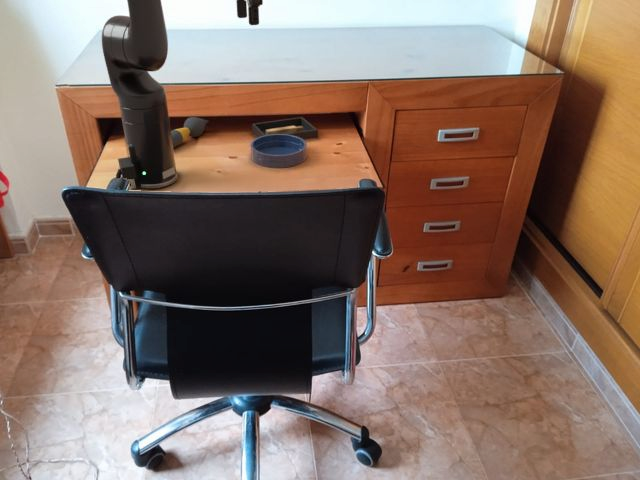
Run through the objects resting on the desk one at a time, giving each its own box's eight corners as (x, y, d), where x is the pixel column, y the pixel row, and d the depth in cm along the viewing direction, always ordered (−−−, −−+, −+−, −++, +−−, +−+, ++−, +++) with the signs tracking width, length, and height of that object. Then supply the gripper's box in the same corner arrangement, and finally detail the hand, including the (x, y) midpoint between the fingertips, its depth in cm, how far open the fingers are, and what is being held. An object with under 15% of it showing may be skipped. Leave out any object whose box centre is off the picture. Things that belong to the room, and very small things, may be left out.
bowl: (262, 173, 121) (261, 159, 119) (243, 152, 131) (242, 138, 129) (315, 164, 126) (315, 150, 124) (293, 144, 136) (293, 130, 134)
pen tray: (265, 147, 134) (265, 137, 132) (252, 132, 141) (251, 123, 140) (317, 138, 139) (317, 129, 137) (302, 125, 147) (302, 116, 145)
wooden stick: (267, 137, 137) (267, 131, 137) (265, 135, 139) (265, 129, 138) (303, 132, 141) (303, 126, 140) (301, 130, 142) (301, 124, 141)
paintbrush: (164, 159, 126) (161, 139, 123) (148, 155, 128) (144, 135, 125) (213, 132, 141) (211, 113, 139) (197, 128, 143) (196, 110, 140)
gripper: (218, -61, 120) (223, 16, 128) (237, -56, 109) (242, 28, 118) (250, -62, 122) (253, 14, 131) (272, -57, 112) (274, 26, 120)
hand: (248, 21), depth 124 cm, fingers open, 8 cm apart
